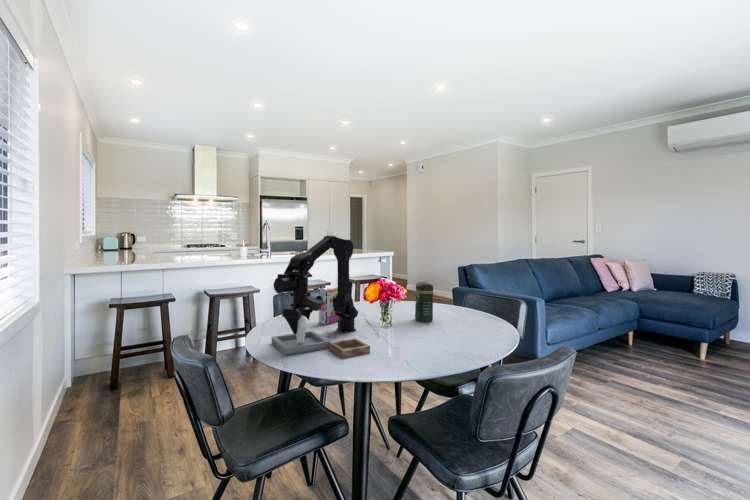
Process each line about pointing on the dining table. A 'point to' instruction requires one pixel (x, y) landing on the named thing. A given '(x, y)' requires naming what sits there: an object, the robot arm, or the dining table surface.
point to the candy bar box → (328, 306)
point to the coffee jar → (424, 302)
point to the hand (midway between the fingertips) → (300, 330)
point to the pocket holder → (358, 350)
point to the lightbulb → (302, 329)
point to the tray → (291, 347)
